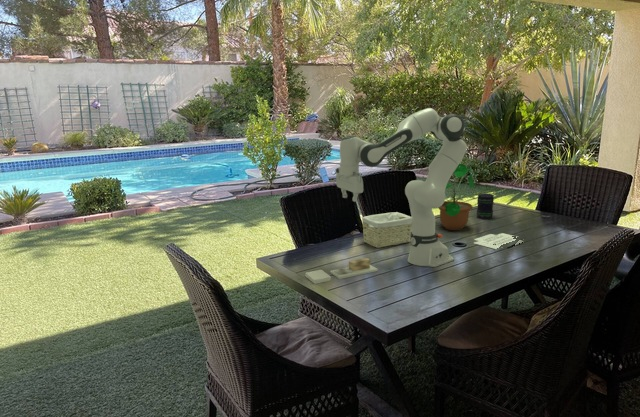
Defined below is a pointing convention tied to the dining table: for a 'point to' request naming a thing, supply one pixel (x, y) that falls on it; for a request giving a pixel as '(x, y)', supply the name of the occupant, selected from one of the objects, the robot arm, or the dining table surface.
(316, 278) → the tile
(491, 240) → the paper stack
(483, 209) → the storage jar
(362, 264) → the wooden handled scraper
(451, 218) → the potted plant
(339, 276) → the tool rest
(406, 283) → the dining table surface
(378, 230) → the storage basket
